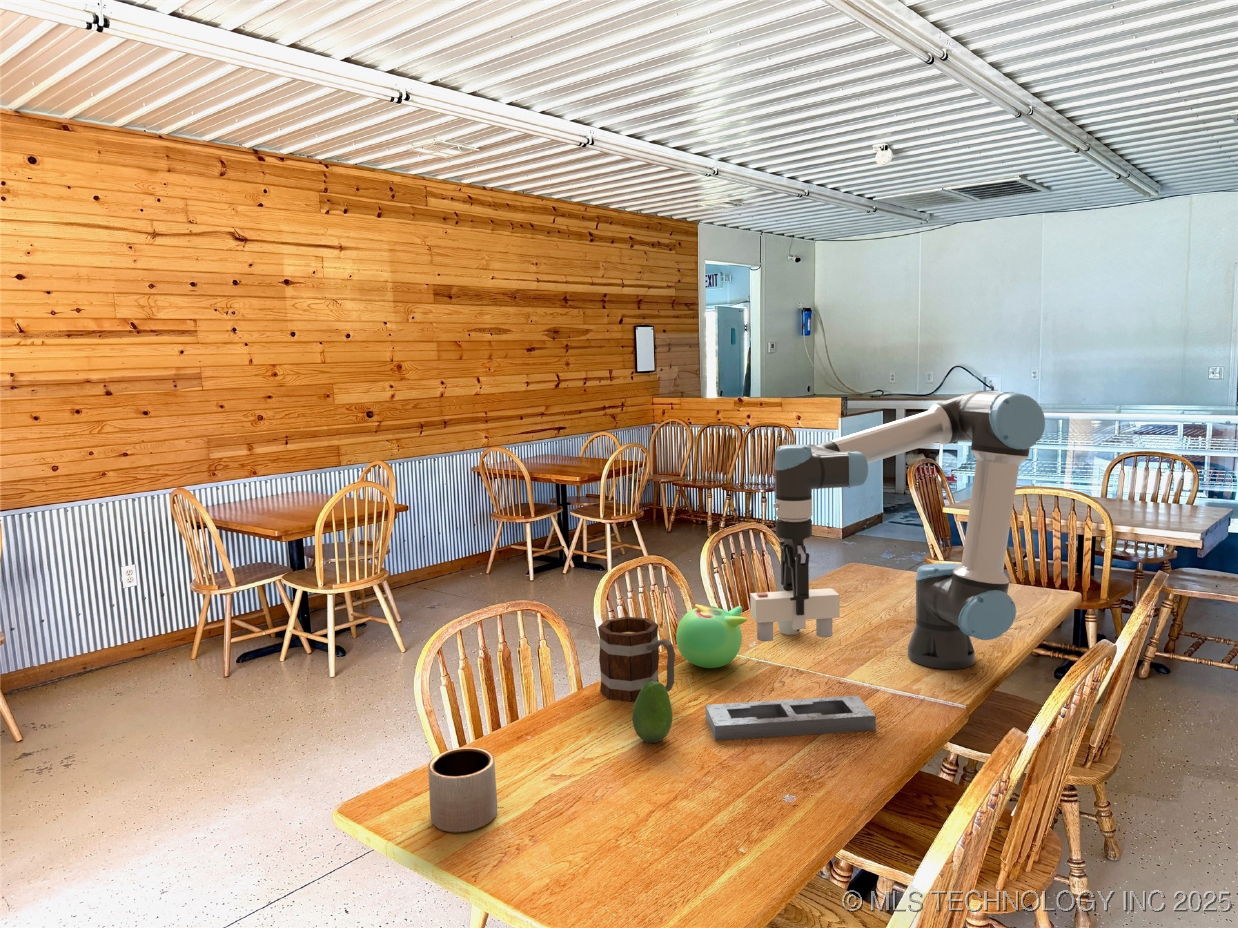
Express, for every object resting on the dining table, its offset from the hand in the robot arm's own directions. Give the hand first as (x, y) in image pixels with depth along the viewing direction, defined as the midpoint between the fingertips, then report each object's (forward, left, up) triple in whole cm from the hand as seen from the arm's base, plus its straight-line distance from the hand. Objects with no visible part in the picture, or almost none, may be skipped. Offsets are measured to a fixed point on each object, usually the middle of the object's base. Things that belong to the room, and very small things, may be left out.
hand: (794, 624), depth 179 cm
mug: (+33, -7, -17) cm, 38 cm away
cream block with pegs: (0, 0, -3) cm, 3 cm away
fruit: (+33, +16, -17) cm, 40 cm away
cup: (-11, -42, -17) cm, 46 cm away
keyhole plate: (+5, +13, -16) cm, 21 cm away
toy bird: (+14, -22, -17) cm, 31 cm away
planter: (+67, +39, -17) cm, 79 cm away
